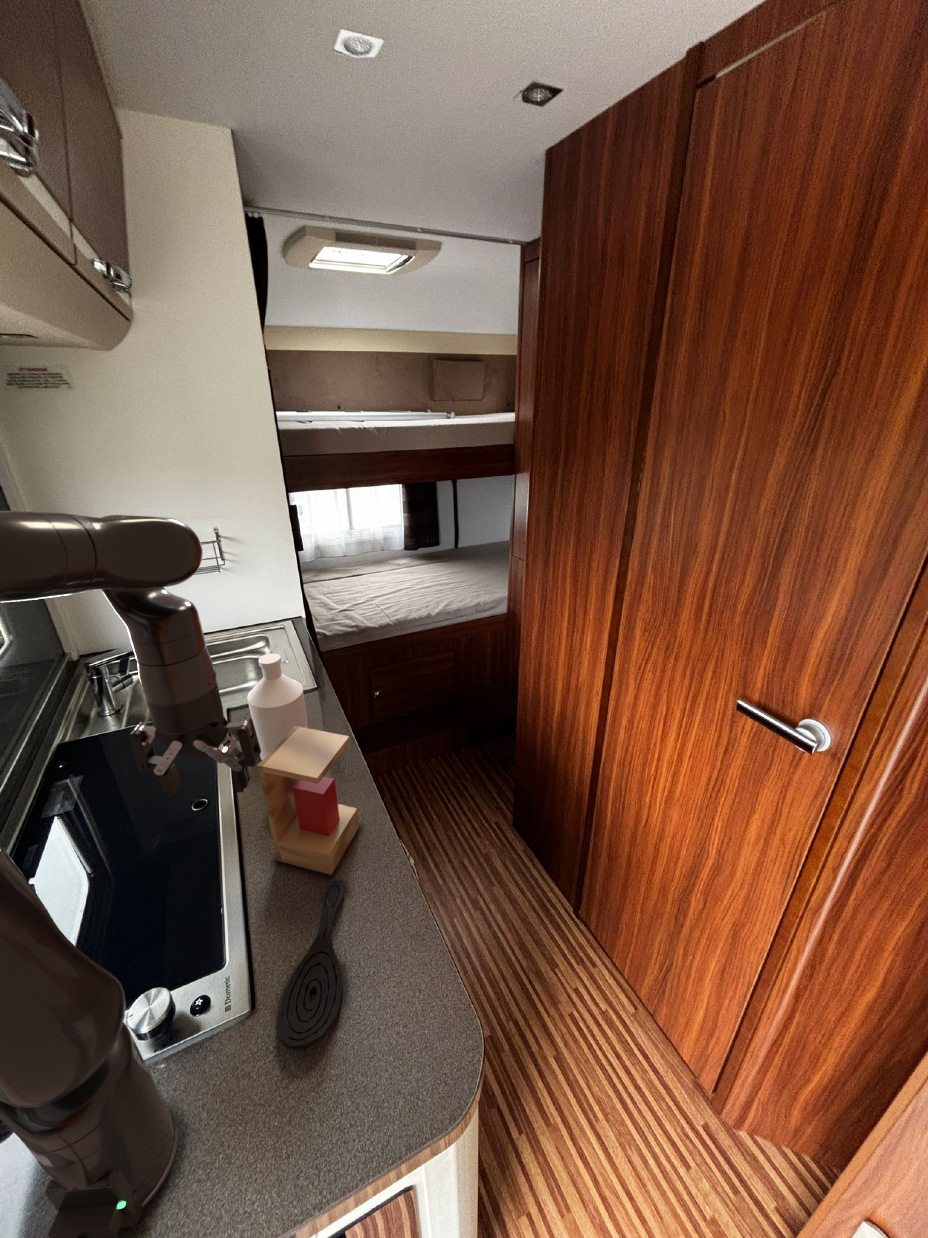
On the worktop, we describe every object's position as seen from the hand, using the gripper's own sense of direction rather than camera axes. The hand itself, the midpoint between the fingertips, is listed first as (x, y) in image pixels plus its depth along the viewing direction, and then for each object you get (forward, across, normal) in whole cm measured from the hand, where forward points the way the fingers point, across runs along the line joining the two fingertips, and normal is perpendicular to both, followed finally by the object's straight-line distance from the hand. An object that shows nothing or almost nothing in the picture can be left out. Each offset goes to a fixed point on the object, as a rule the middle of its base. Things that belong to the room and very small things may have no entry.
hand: (209, 789), depth 65 cm
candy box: (+25, +9, +17) cm, 31 cm away
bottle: (+30, -5, +45) cm, 54 cm away
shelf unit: (+30, +8, +17) cm, 35 cm away
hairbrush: (+30, +12, -4) cm, 33 cm away
